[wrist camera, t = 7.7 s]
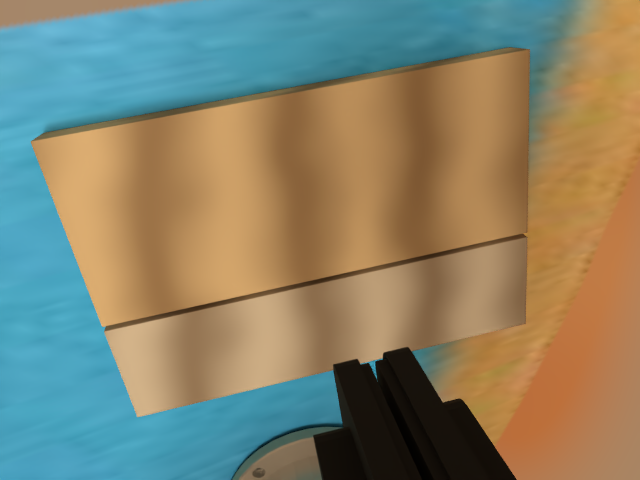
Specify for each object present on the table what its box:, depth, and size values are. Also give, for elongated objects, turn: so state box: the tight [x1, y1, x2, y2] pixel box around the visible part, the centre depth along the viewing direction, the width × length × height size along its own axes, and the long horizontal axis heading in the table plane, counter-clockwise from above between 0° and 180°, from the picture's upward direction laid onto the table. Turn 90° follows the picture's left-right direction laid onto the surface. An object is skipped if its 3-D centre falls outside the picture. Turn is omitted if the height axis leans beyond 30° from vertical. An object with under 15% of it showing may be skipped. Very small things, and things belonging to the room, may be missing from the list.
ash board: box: [104, 234, 527, 417], centre depth 31 cm, size 24×6×2 cm, turn 99°
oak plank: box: [31, 47, 530, 327], centre depth 28 cm, size 24×10×2 cm, turn 99°
